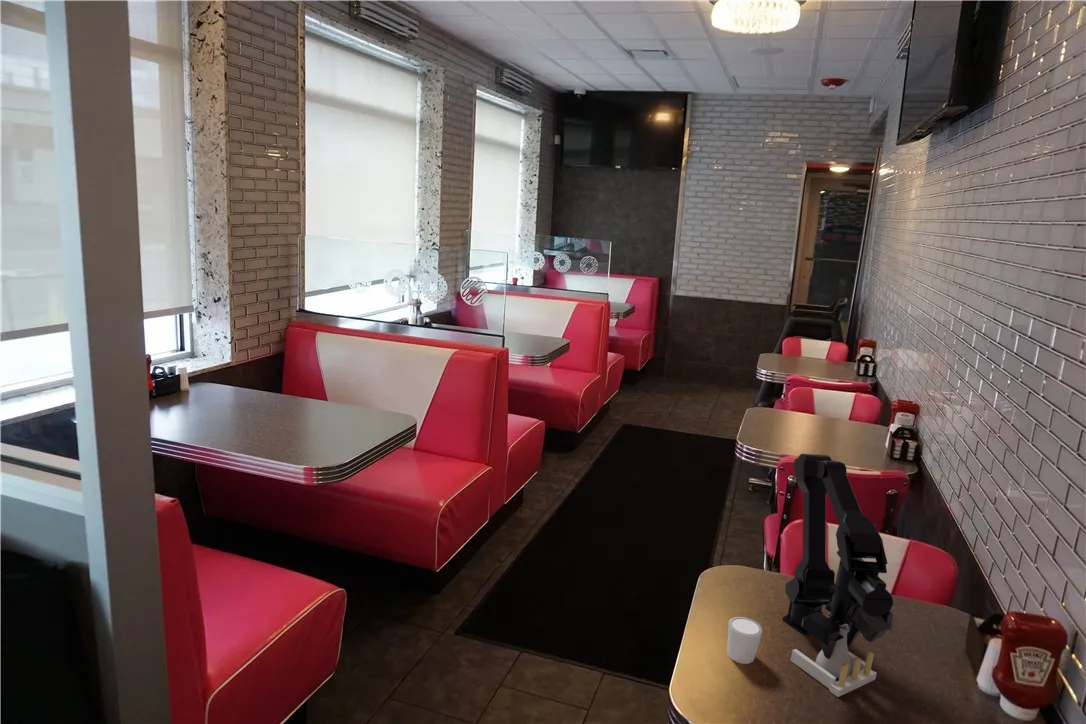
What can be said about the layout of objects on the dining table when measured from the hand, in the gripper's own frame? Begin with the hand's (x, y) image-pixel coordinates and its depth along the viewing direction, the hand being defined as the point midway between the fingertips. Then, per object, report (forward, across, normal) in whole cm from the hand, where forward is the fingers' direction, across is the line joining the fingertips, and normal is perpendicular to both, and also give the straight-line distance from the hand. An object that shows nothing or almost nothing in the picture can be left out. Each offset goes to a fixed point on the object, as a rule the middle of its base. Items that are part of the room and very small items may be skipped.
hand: (835, 654), depth 149 cm
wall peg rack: (+4, 0, 0) cm, 4 cm away
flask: (+3, 0, 0) cm, 3 cm away
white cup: (+4, -14, +12) cm, 19 cm away
